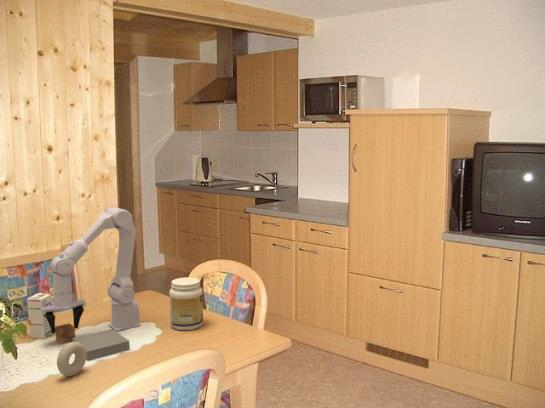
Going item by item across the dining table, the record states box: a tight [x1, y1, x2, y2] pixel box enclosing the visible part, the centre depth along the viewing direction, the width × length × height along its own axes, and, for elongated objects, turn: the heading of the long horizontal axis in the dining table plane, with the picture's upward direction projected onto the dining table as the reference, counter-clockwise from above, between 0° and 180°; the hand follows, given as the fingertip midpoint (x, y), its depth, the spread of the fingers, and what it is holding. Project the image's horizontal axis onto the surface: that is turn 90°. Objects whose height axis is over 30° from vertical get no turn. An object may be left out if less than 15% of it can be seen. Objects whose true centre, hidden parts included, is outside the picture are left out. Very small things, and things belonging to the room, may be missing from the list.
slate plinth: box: [72, 328, 131, 362], centre depth 183 cm, size 14×14×3 cm
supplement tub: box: [168, 276, 204, 331], centre depth 203 cm, size 12×12×17 cm
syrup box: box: [26, 292, 53, 340], centre depth 194 cm, size 6×6×14 cm
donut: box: [56, 342, 87, 377], centre depth 163 cm, size 10×4×10 cm, turn 152°
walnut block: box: [55, 322, 76, 346], centre depth 190 cm, size 5×5×5 cm
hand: (64, 330), depth 189 cm, fingers open, 7 cm apart
